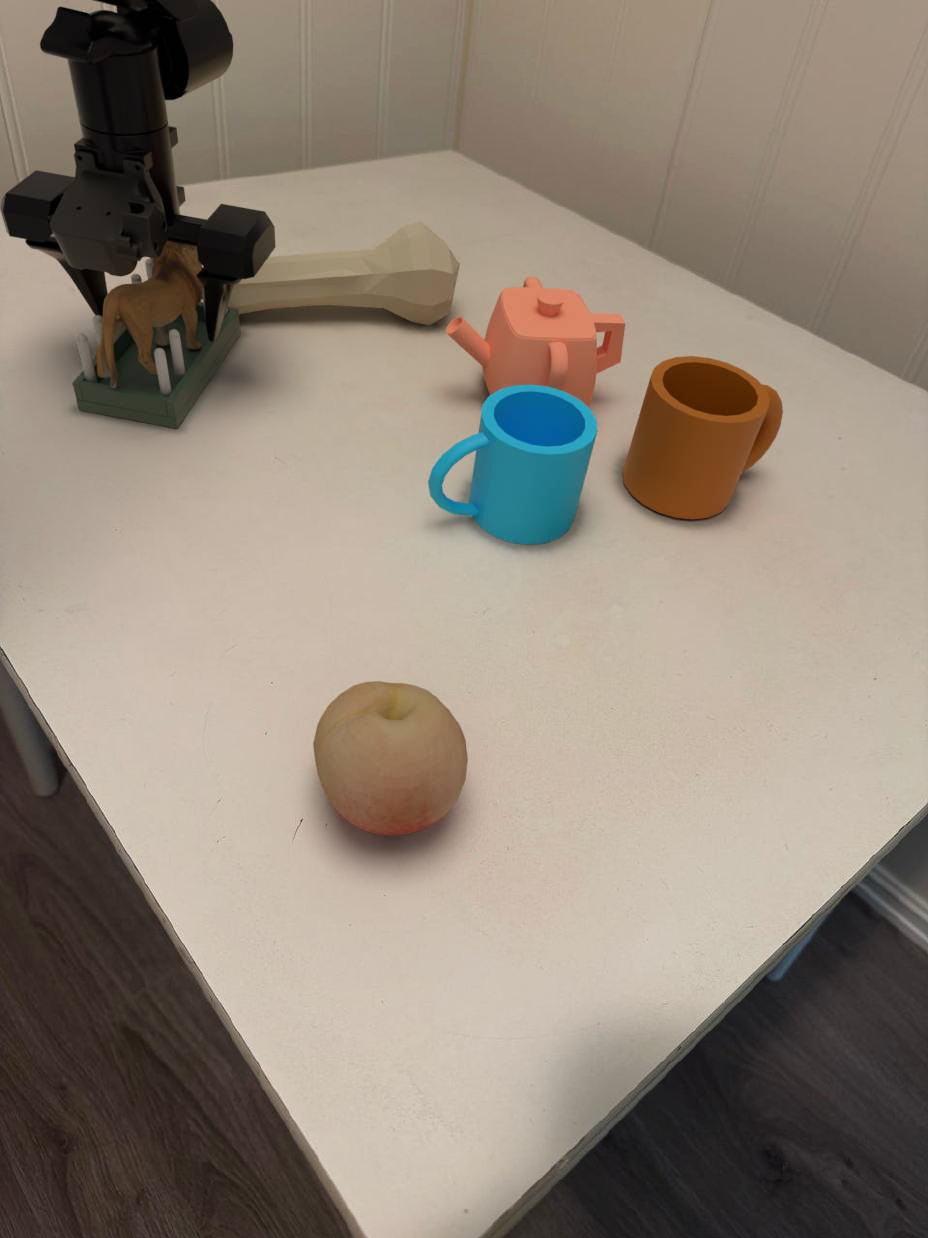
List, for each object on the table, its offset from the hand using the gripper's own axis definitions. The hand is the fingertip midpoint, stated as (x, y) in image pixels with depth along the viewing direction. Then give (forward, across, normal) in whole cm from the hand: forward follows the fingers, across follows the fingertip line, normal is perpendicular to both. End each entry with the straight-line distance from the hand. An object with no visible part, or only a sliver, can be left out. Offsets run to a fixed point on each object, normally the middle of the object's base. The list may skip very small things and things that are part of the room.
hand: (158, 328), depth 71 cm
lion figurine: (+2, 0, 0) cm, 3 cm away
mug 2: (+4, +45, -2) cm, 45 cm away
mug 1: (+4, +30, -10) cm, 32 cm away
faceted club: (+4, +10, +14) cm, 18 cm away
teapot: (+4, +30, +6) cm, 31 cm away
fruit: (+4, +27, -36) cm, 45 cm away
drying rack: (+4, 0, 0) cm, 4 cm away
